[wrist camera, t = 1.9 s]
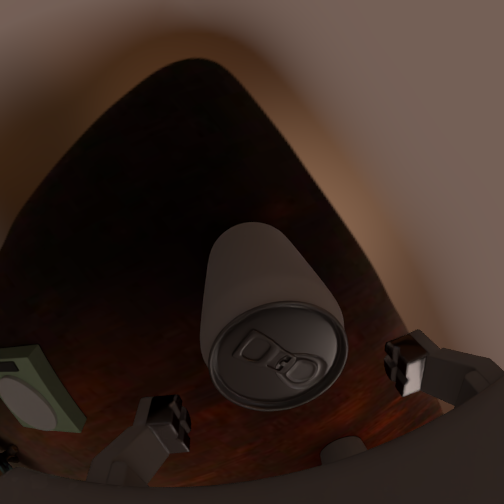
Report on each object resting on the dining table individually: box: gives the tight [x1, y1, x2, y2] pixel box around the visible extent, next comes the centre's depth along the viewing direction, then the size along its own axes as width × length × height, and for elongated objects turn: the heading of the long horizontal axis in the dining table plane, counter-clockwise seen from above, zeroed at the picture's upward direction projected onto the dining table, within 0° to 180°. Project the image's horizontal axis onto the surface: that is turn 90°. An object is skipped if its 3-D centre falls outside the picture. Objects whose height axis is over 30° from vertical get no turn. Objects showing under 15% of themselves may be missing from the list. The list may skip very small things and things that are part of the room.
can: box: [200, 222, 348, 411], centre depth 17 cm, size 6×6×12 cm
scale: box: [0, 344, 86, 433], centre depth 23 cm, size 11×11×3 cm
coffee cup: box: [320, 436, 367, 465], centre depth 24 cm, size 8×8×15 cm
